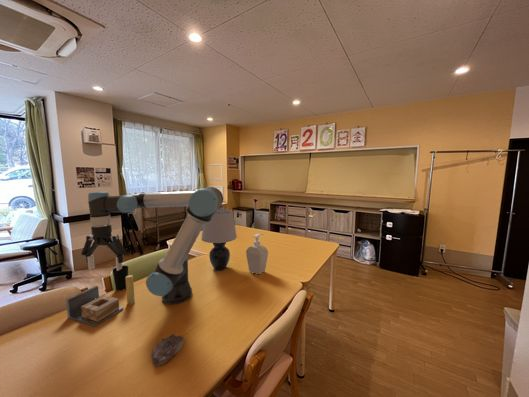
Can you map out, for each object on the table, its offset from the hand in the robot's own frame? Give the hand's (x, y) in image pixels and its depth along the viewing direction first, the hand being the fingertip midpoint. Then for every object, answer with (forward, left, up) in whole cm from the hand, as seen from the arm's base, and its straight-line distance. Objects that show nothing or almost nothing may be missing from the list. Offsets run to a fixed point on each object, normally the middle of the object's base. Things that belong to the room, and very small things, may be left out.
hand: (105, 269), depth 104 cm
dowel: (-4, -8, -21) cm, 23 cm away
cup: (+14, -17, -21) cm, 31 cm away
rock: (-45, +11, -21) cm, 51 cm away
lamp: (-25, -60, -21) cm, 69 cm away
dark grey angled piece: (+3, +4, -21) cm, 21 cm away
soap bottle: (-52, -64, -21) cm, 85 cm away
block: (0, +4, -20) cm, 20 cm away
